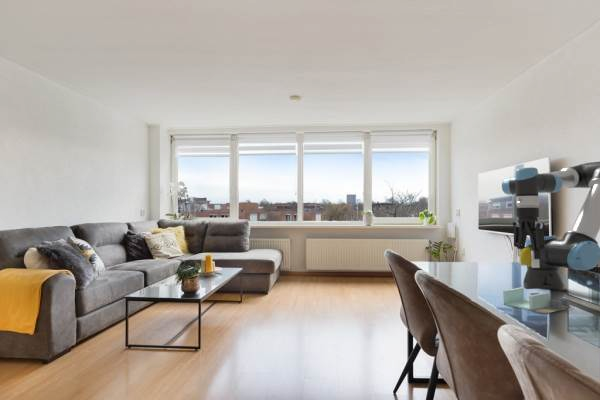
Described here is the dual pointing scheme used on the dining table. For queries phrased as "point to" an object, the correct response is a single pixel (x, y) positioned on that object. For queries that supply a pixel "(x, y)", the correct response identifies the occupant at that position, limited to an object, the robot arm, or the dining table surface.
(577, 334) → the dining table surface
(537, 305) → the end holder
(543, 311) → the board
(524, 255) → the lemon
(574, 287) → the dining table surface
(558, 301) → the clip
